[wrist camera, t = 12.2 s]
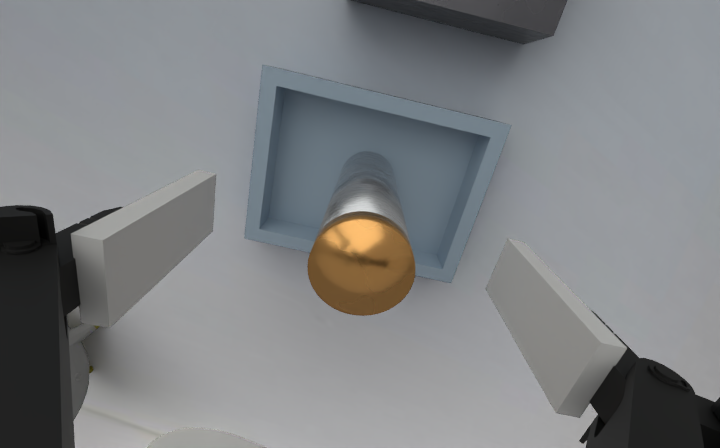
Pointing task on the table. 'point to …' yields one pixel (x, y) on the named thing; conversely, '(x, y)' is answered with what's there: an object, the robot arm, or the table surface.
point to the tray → (375, 134)
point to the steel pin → (363, 241)
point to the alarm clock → (79, 364)
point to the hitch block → (486, 15)
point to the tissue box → (201, 439)
